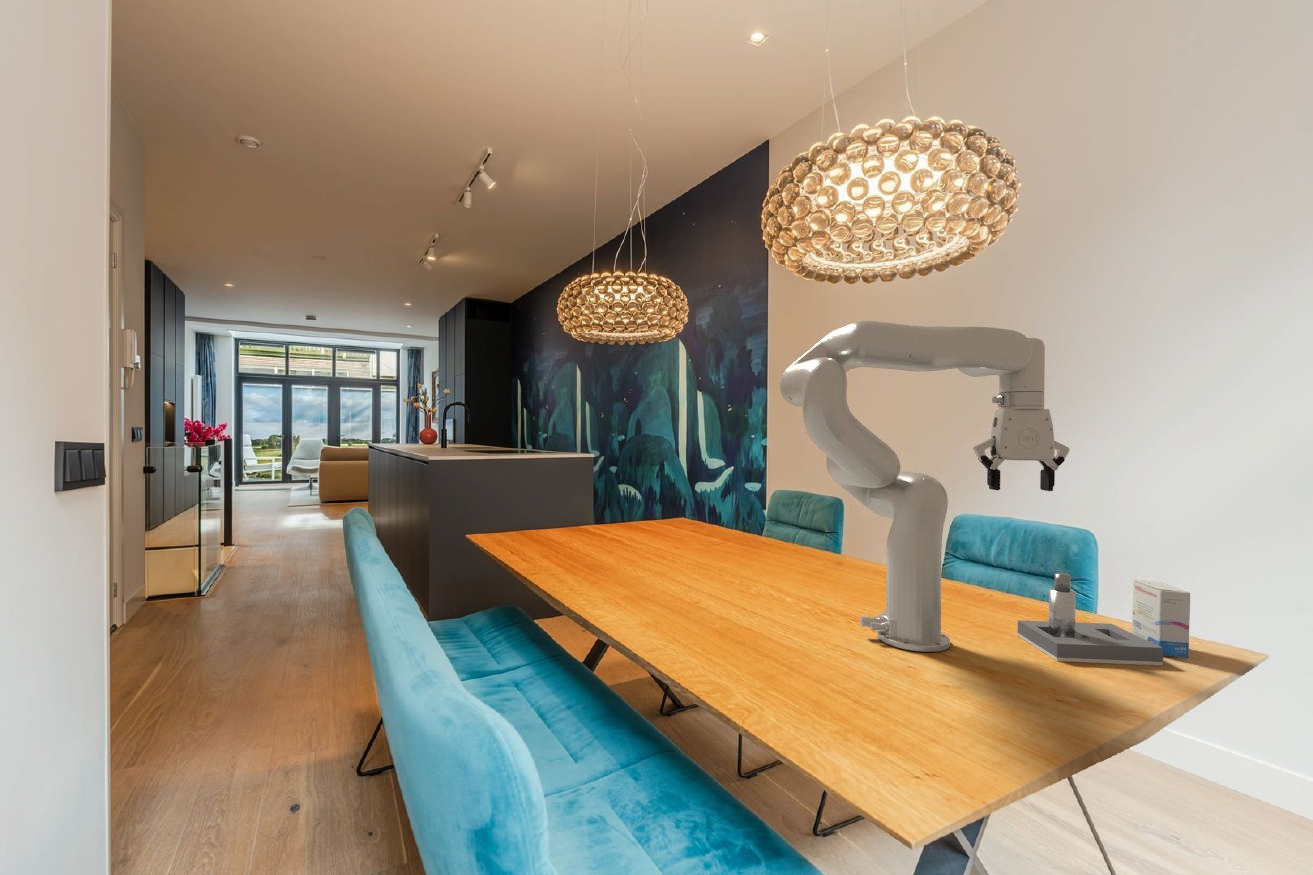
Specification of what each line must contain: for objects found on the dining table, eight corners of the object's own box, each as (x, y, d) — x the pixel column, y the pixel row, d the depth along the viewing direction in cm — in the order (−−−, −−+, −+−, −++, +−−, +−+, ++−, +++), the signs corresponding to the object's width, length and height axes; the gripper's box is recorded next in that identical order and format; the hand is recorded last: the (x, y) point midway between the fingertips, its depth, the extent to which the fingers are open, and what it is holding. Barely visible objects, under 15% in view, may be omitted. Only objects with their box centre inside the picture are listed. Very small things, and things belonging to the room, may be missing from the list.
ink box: (1191, 658, 103) (1192, 591, 103) (1158, 656, 104) (1159, 589, 104) (1160, 642, 111) (1161, 579, 111) (1130, 640, 112) (1130, 578, 112)
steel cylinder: (1056, 648, 106) (1057, 576, 105) (1043, 641, 110) (1044, 571, 109) (1080, 649, 105) (1081, 577, 105) (1066, 641, 109) (1067, 572, 109)
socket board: (1056, 660, 101) (1057, 643, 101) (1017, 635, 114) (1017, 620, 114) (1162, 665, 100) (1163, 647, 100) (1111, 639, 113) (1111, 623, 113)
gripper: (983, 401, 112) (982, 491, 112) (1080, 401, 110) (1079, 492, 110) (966, 403, 119) (965, 487, 119) (1056, 403, 118) (1056, 489, 118)
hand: (1020, 490), depth 115 cm, fingers open, 9 cm apart
